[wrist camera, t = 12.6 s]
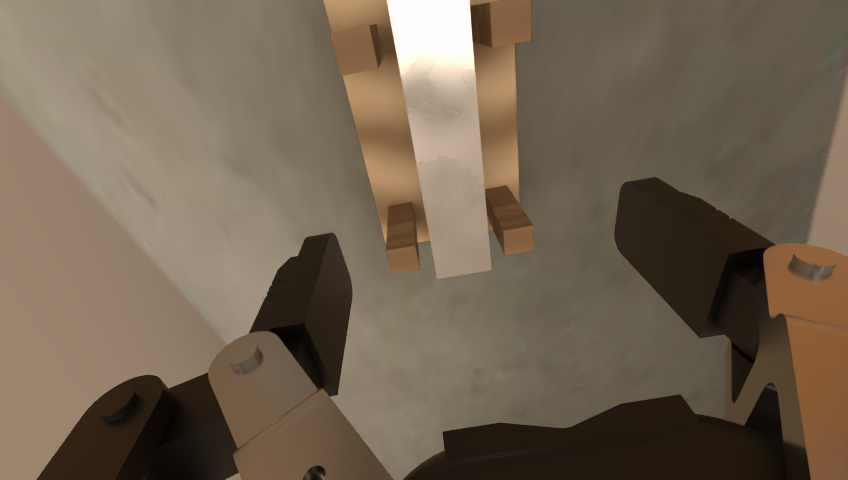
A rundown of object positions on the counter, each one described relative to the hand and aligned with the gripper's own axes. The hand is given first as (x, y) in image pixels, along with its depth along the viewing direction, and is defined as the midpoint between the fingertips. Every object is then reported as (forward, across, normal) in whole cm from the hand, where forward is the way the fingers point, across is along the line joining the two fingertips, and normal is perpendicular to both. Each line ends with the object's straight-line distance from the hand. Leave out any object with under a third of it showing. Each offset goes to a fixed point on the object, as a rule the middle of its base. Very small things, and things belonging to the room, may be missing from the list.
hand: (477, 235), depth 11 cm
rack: (+21, 0, +2) cm, 21 cm away
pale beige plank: (+19, 0, +2) cm, 19 cm away
